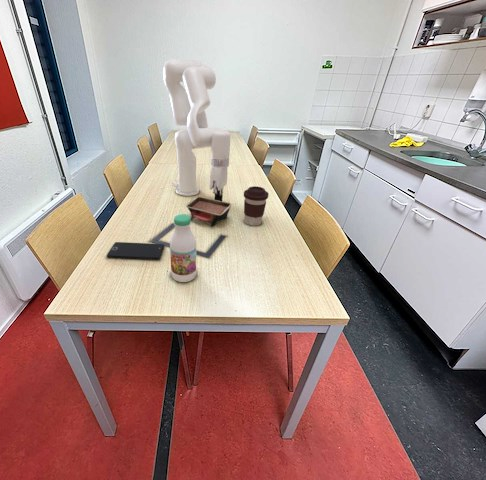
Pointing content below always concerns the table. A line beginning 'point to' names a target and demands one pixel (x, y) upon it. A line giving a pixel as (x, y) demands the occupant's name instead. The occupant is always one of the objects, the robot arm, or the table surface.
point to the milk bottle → (183, 250)
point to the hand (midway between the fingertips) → (218, 202)
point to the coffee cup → (254, 205)
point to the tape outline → (207, 254)
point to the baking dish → (208, 210)
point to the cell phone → (136, 250)
